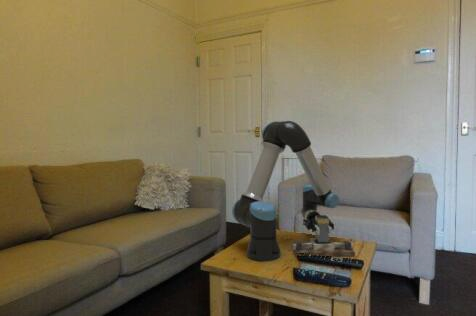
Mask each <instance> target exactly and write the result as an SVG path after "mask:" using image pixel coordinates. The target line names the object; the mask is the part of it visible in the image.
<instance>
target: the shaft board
mask: <svg viewBox="0 0 476 316" xmlns="http://www.w3.org/2000/svg"><path fill="white" fill-rule="evenodd" d="M353 249H354V244H353V243H352V242H351V241H350V240H343V242H336V241H335V242H333V240H332V239H330V238H329V244H316V237H315V238H313V237H312V238H311V237H310V238H309V242H303V243H302V241H301V240H295V243H291V250H292V252H293V255H294V257H295V258H298V257H297V255H298V254H299V253H308V254H315V255H325V256H332V257H331V258H333V257H340V258H341V257H342V258H344V257H345V258H347V257H351V258H352V257H355V256H356V255H355V254H356V251H354V250H353Z"/></svg>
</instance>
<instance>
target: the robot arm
mask: <svg viewBox="0 0 476 316" xmlns="http://www.w3.org/2000/svg"><path fill="white" fill-rule="evenodd" d="M261 137H262V142H261V144H262V147H263V148H262V150H261V154H260V155H259V158H258V160H257V163H256V165H255V167H254V172H252V173H253V174H252V176H251V179H250V182H249V184H248V187H247V189H246V191H245V192H243V193H242V194H241V196H240V198H239V199H238V200H236V201H235V202H234V203H233V205H232V209H231V213H232V217H233V219H234V221H236V222H237V223H238V224H240V225H243V226H245V227H247V228H249V229H250V230H249V231H250V233H249V234H250V237H249V242H248V245H247V249H246V257H247V258H248V259H251V260H254V261H257V262H269V261H270V262H271V261H275V260H278V259H279V258H280V257H281V248H280V246H279V243H278V238H277V216H278V214H277V207H276V206H275V205H274V204H273V203H272V202H268V201H264V196H265V193H266V191H267V188H268V186H269V183H270V180H271V178H272V175H273V172H274V170H275V167H276V165H277V161H278V158H279V157H280V154H281V153H283V152H285V150H286V147H289V148H290V150H291V152H292V153H294V154H295V155H296V156H297V159H298V162H299V163H300V165H301V167H302V169H303V171H304V174H305V176H306V177H307V179H308V181H309V184H304V185H303V186H302V209H301V216H302V218H303V220H302V225H303V226H305V228H306V229H307V230H308V231H310V230H311V232H312V233H314V232H315V234H316V233H317V234H318V235H320V229H319V228H318V226H317V225H316V221H315V216H316V215H321V214H320V212H318V206H320V207H324V208H330V209H335V208H337V206H338V205H339V203H340V197H339V195H338V194H337V193H335V192H332V189H331V188H330V186H329V183H328V181H327V179H326V177H325V175H324V172H323V171H322V168H321V167H320V164H319V162H318V160H317V157H316V156H315V154H314V151H313V150H312V147H311V145H312V142H311V140H310V138H309V137H308V134H307V132H306V131H305V130H304V129H303V128H302V127H301V125H300V124H298V123H297V122H295V121H291V120H286V121H284V120H282V121H277V120H276V121H275V120H274V121H272V122H269V123H267V124H266V125H265V126H264V127H263V129H262V131H261ZM334 230H335V224H334V223H333V222H332V221H331V219H330V218H329V236H331V235H332V236H333V231H334Z"/></svg>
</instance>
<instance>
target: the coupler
mask: <svg viewBox="0 0 476 316" xmlns="http://www.w3.org/2000/svg"><path fill="white" fill-rule="evenodd" d="M329 219H330V217H329V216H327V215H325V214H324V215H323V214H320V215H316V216H315V221H316V225H317V226H318V228H319V229H320V235H318V234H317V233H316V232H315V238H316V244H329V236H330V234H329Z"/></svg>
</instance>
